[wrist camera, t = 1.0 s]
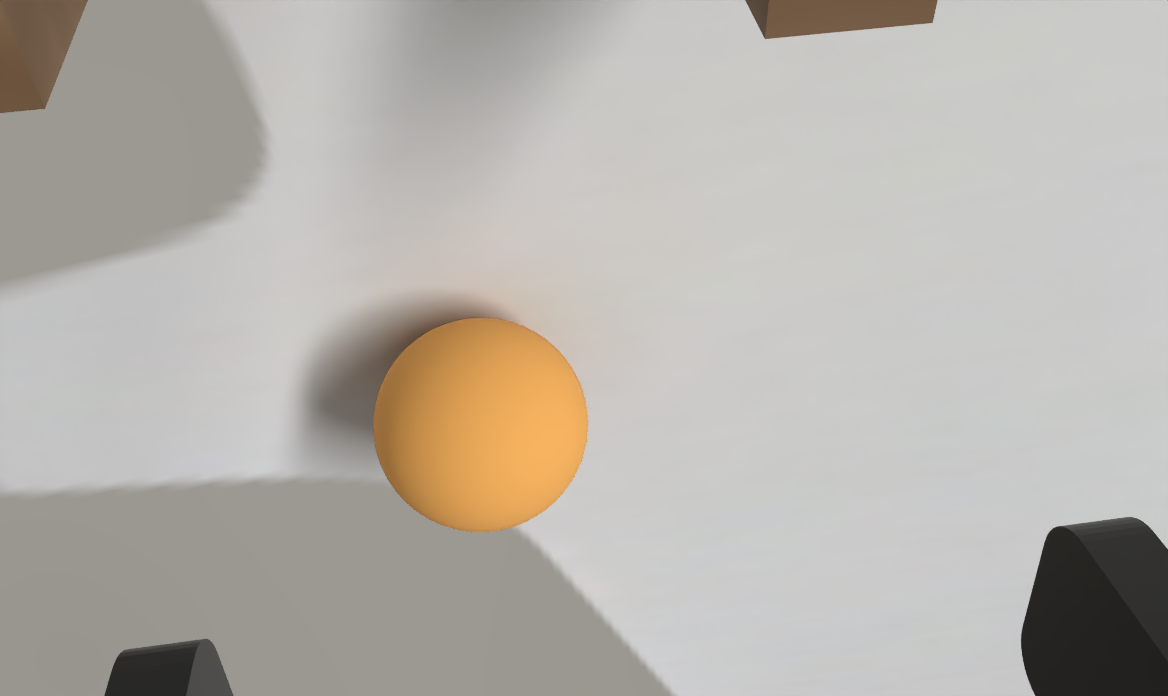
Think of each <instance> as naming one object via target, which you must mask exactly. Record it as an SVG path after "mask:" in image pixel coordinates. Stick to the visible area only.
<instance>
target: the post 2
mask: <svg viewBox="0 0 1168 696" xmlns="http://www.w3.org/2000/svg"><path fill="white" fill-rule="evenodd" d="M745 1H746V3H747V4H748V6H749V8H750V10H751V12H752V14H753V16H754V18H755V20H756V22H757V24H758V26H759V28H760V30H761V32H762V34H763V36H764V38H765V39H770V38H780V37H790V36H801V35H811V34H821V33H832V32H842V31H852V30H863V29H873V28H883V27H894V26H904V25H914V24H925V23H933V18H934V14H935V9H936V5H937V0H745Z"/></svg>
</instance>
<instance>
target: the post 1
mask: <svg viewBox="0 0 1168 696" xmlns="http://www.w3.org/2000/svg"><path fill="white" fill-rule="evenodd" d="M87 1H88V0H0V113H4V112H14V111H24V110H35V109H45V107H46V104H47V101H48V99H49V97H50V94H51V92H52V89H53V87H54V84H55V82H56V79H57V76H58V74H59V71H60V69H61V66H62V63H63V61H64V59H65V56H66V54H67V51H68V49H69V46H70V44H71V41H72V38H73V36H74V33H75V31H76V28H77V26H78V23H79V21H80V18H81V16H82V13H83V11H84V8H85V6H86V3H87Z"/></svg>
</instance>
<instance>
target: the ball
mask: <svg viewBox="0 0 1168 696" xmlns="http://www.w3.org/2000/svg"><path fill="white" fill-rule="evenodd" d="M373 431H374V441H375V447H376V451H377V455H378V458H379V461H380V464H381V466H382V469H383V471H384V473H385V475H386V477H387V479H388V480H389V482H390V484H391V485H392V486H393V488H394V489H395V490H396V492H397V493H398V494H399V495H400V497H401V498H402V499H403V500H404V501H405V502H406V503H407V504H409V505H410V506H411V507H412V508H413V509H414V510H416V511H417V512H419V513H420V514H422V515H423V516H425V517H427V518H428V519H430V520H432V521H434V522H436V523H438V524H441V525H444V526H447V527H450V528H453V529H458V530H462V531H470V532H489V531H497V530H503V529H507V528H511V527H514V526H517V525H519V524H522V523H524V522H526V521H528V520H530V519H532V518H533V517H535V516H537V515H539V514H540V513H542V512H543V511H545V510H546V509H547V508H548V507H549V506H551V505H552V504H553V503H554V502H555V501H556V500H557V499H558V498H559V497H560V496H561V495H562V494H563V492H564V491H565V490H566V488H567V487H568V485H569V484H570V483H571V481H572V480H573V478H574V476H575V474H576V472H577V470H578V468H579V465H580V463H581V461H582V458H583V454H584V450H585V446H586V442H587V431H588V416H587V407H586V401H585V397H584V394H583V391H582V388H581V385H580V382H579V380H578V378H577V376H576V374H575V372H574V371H573V369H572V367H571V366H570V364H569V363H568V361H567V360H566V359H565V358H564V356H563V355H562V354H561V353H560V351H559V350H557V349H556V348H555V347H554V346H553V345H552V344H551V343H550V342H548V341H547V340H546V339H545V338H543V337H542V336H540V335H539V334H537V333H536V332H534V331H532V330H530V329H528V328H526V327H524V326H522V325H519V324H516V323H513V322H510V321H505V320H500V319H493V318H468V319H462V320H457V321H453V322H450V323H447V324H444V325H442V326H439V327H436V328H434V329H432V330H430V331H428V332H427V333H425V334H424V335H422V336H421V337H419V338H418V339H417V340H415V341H414V342H413V343H412V344H410V345H409V346H408V347H407V348H406V349H405V350H404V351H403V352H402V353H401V354H400V355H399V357H398V358H397V359H396V360H395V362H394V363H393V364H392V366H391V367H390V369H389V370H388V372H387V374H386V376H385V378H384V380H383V383H382V385H381V387H380V390H379V393H378V397H377V401H376V405H375V410H374V423H373Z"/></svg>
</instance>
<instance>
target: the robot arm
mask: <svg viewBox="0 0 1168 696" xmlns="http://www.w3.org/2000/svg"><path fill="white" fill-rule="evenodd" d="M1021 649H1022V657H1023V662H1024V666H1025V670H1026V674H1027V677H1028V680H1029V683H1030V685H1031V687H1032V690H1033V692H1034V694H1035V696H1168V549H1167V548H1166V547H1165V545H1164V544H1163V543H1162V542H1161V540H1160V539H1159V538H1158V537H1157V536H1156V534H1155V533H1154V532H1153V531H1152V530H1151V529H1150V527H1149V526H1148V525H1146V524H1145V523H1144V522H1143V521H1141V520H1139V519H1137V518H1133V517H1125V518H1118V519H1110V520H1103V521H1095V522H1088V523H1081V524H1073V525H1066V526H1059V527H1055V528H1053V529H1052V530H1051V531H1050V532H1049V534H1048V535H1047V537H1046V540H1045V543H1044V547H1043V551H1042V555H1041V558H1040V562H1039V566H1038V570H1037V574H1036V578H1035V581H1034V585H1033V589H1032V593H1031V597H1030V601H1029V605H1028V608H1027V612H1026V616H1025V620H1024V624H1023V628H1022V634H1021ZM105 696H233V693H232V691H231V688H230V685H229V683H228V680H227V677H226V674H225V672H224V669H223V666H222V664H221V661H220V658H219V656H218V653H217V651H216V648H215V646H214V645H213V643H212V642H211V641H210V640H208V639H201V640H194V641H187V642H179V643H172V644H165V645H157V646H150V647H142V648H135V649H128V650H124V651H123V652H122V653H120V654H119V656H118V657H117V659H116V661H115V663H114V666H113V669H112V672H111V675H110V678H109V682H108V685H107V689H106V692H105Z"/></svg>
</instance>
